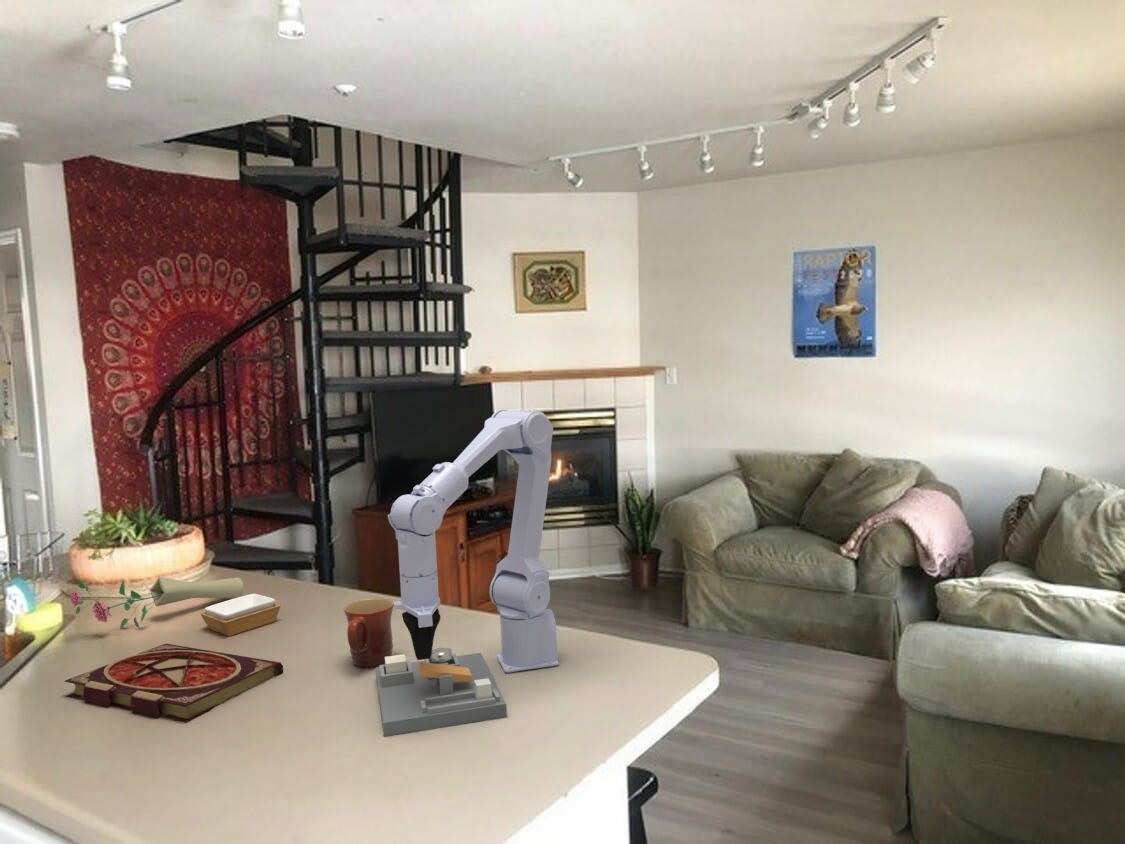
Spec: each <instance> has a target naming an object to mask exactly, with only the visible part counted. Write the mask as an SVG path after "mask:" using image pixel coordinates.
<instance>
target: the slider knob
mask: <svg viewBox="0 0 1125 844" xmlns="http://www.w3.org/2000/svg"><path fill="white" fill-rule="evenodd" d="M474 688H475V699H476V700H480V699H487V698H492V693H491V683H490V681H489V678H487V679H480V680H474Z"/></svg>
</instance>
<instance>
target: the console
mask: <svg viewBox="0 0 1125 844" xmlns="http://www.w3.org/2000/svg"><path fill="white" fill-rule="evenodd" d="M419 662H425V663H431V658H430V659H423V660H417V661H412V662H411V660H408V661H407V660H406V667H407V672H400V673H393V674H386V668H385V664H383V665H379V666H376V667H375V675H376V679H375V680H376V686H377V692H378V693H377V694H378V700H379V707H380V716H381V723H382V728H383V729H382V730H383V737H388V736H394V735H401V734H407V733H413V732H414V733H415V732H420V731H426V730H431V729H432V730H433V729H438V728H446V727H451V726H457V725H464V724H469V723H475V722H481V721H482V722H483V721H489V720H488V719H490V720H495V718H496V719H500V718H506V717H507V718H508V716H507V715H508V714H507V713H508V712H507V710H508V709H507V702H506V701H505V698H504V696H503V694H502V692H501V691H500V688H499V687H498V684H497V682H496V681H495V679H494V676H493V674H492V672H491V670H490V668H489V667H488V664H487V662H486V660H485V658H484V656H483V654H482V652H477V653H471V654H463V655H462V654H461V655H456V653H452V663H451V664H449V665H451V666H459V667H468V668H469V670H470V672H471V675H472V678H471V682H467V681H458V680H453V675H452V674H449V675H442V676H439V678H431V677H422V676H420V674H419V671H418V665H419ZM442 665H448V663H442ZM487 678H489V681H490V683H491V693H492V698H487V699H480V700H476V699H475V688H474V680H480V679H487Z"/></svg>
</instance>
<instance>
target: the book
mask: <svg viewBox="0 0 1125 844" xmlns="http://www.w3.org/2000/svg"><path fill="white" fill-rule="evenodd" d="M283 673H284V666H283V663H282V662H280V661H274V660H268V659H261V658H258V657H256V658H255V657H251V656H244V655H243V656H242V655H239V654H232V653H226V652H218V651H215V650H213V651H212V650H208V649H201V648H196V647H189V646H183V645H179V644H171V643H163V644H161V645H159V646H155V647H153V648H150V649H147V650H145V651H142V652H138V653H136V654H131V655H130V656H125V657H122V658H119V659H117V660H114V661H113V662H110V663H109V664H107V665H104V666H100V667H98V668H96V669H92V670H90V671H87V672H84V673H81V674H79V675H76V676H73V677H71V678H68V679H65V680H64V682H65V683H68V684H74V692H72V693H70V694H67V695H65V697H66V698H71V699H75V700H80V701H84V703H85V704H87V705H88V704H89V705H92V706H93V705H94V706H97V707H103V708H107V709H109V708H111V707H112V708H117V709H120V710H125V711H131V713H132V714H134V715H139V716H143V717H148V718H153V719H157V720H158V719H160V718H162V719H165V720H170V721H171V720H172V721H175V722H180V723H183V724H187V723H190V722H192V721H194V720H195V719H197V718H199V717H201V716H204V715H205V714H207V713H209V712H210V711H212V710H213V709H214V708H216V707H217V706H219V704H222V703H224V702H225V701H227V700H229V699H231V698H234V697H235V696H237V695H240V694H242V693H243V692H245V691H247V690H249V689H251V688H253V687H255V686H257V685H259V684H260V683H263V682H264V681H266V680H269V679H271V678H272V677H274V676H276V677H278V676H280V675H282V674H283Z"/></svg>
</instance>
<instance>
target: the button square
mask: <svg viewBox="0 0 1125 844" xmlns="http://www.w3.org/2000/svg"><path fill="white" fill-rule="evenodd" d="M406 661H407V659H406V655H405V654H398V655H397V654H396V655H392V656H388V657H385V664H384V665H385V668H386V674H393V673H400V672H407V667H406Z"/></svg>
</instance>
